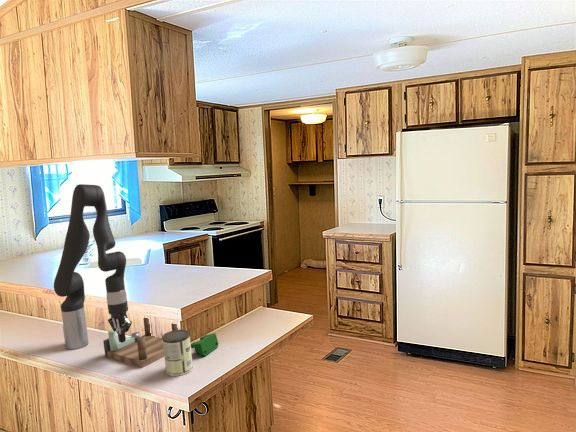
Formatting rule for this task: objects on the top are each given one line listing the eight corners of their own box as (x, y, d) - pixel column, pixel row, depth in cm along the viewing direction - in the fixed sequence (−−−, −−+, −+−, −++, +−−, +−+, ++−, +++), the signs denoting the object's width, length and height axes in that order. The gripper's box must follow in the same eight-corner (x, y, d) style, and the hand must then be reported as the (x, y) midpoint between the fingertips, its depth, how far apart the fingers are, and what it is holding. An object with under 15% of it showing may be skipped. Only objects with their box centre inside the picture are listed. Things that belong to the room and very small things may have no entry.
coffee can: (169, 364, 176) (165, 330, 174) (195, 362, 176) (192, 328, 174) (162, 377, 165) (158, 341, 164) (190, 375, 166) (187, 338, 164)
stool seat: (105, 356, 188) (102, 332, 186) (147, 337, 206) (144, 315, 205) (142, 367, 175) (140, 341, 173) (184, 346, 193) (181, 322, 192)
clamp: (207, 356, 191) (206, 335, 194) (219, 355, 188) (217, 333, 191) (189, 357, 181) (188, 334, 184) (200, 355, 178) (199, 332, 181)
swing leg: (136, 338, 198) (134, 320, 197) (141, 339, 196) (139, 321, 195) (108, 350, 186) (106, 332, 186) (113, 351, 185) (111, 333, 184)
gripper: (135, 299, 181) (140, 340, 183) (114, 296, 188) (119, 336, 190) (119, 305, 174) (125, 348, 176) (99, 302, 182) (104, 342, 184)
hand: (122, 341), depth 183 cm, fingers closed
